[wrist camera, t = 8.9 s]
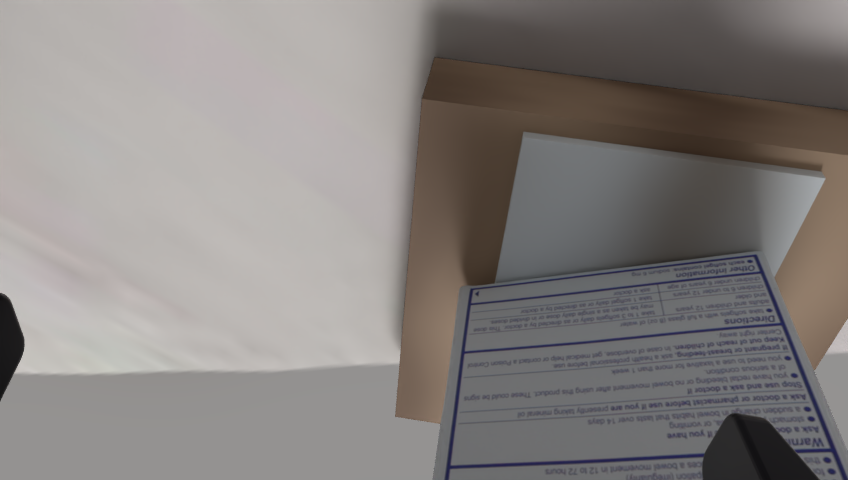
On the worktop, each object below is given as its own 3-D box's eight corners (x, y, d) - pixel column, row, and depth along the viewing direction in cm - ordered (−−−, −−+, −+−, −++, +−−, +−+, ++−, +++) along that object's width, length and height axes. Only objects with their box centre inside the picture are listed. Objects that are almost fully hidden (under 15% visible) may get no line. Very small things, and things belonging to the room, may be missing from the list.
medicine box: (489, 384, 22) (465, 693, 15) (456, 277, 19) (410, 589, 12) (761, 364, 20) (880, 711, 13) (765, 240, 17) (914, 590, 10)
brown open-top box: (406, 362, 26) (393, 423, 23) (434, 57, 18) (420, 104, 16) (732, 413, 25) (751, 480, 23) (898, 117, 18) (949, 175, 15)
